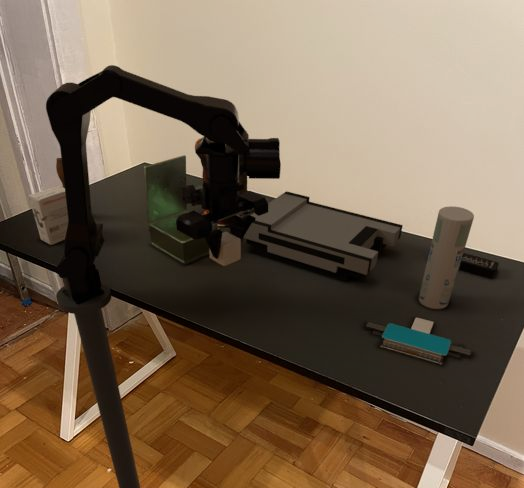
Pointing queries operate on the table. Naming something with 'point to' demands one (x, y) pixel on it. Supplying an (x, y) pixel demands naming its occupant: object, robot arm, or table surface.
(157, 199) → the box lid
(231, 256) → the white block
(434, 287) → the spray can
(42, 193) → the ink box
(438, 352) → the teal block with rod
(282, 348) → the table surface
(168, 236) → the storage tray
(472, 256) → the multiport hub
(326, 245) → the game console
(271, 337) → the table surface
